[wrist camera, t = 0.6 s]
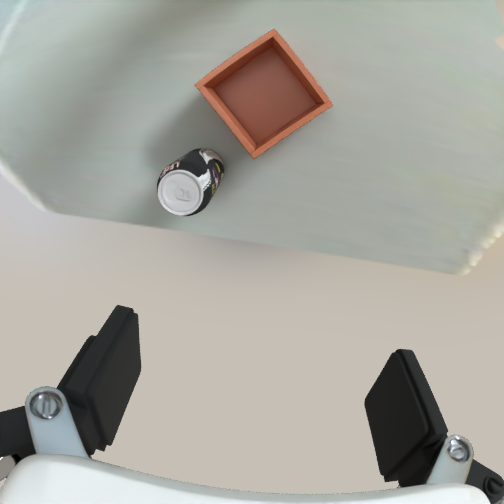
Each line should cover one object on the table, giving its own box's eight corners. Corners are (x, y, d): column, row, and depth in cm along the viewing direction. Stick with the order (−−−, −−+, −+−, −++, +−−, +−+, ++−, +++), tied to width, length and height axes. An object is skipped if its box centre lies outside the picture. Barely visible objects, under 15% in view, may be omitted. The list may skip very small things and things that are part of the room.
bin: (205, 88, 36) (194, 84, 30) (273, 40, 33) (274, 28, 27) (255, 151, 39) (253, 159, 33) (323, 105, 36) (333, 105, 30)
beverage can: (222, 193, 42) (205, 225, 31) (180, 187, 41) (150, 217, 31) (228, 150, 39) (212, 168, 28) (184, 145, 39) (153, 161, 28)
